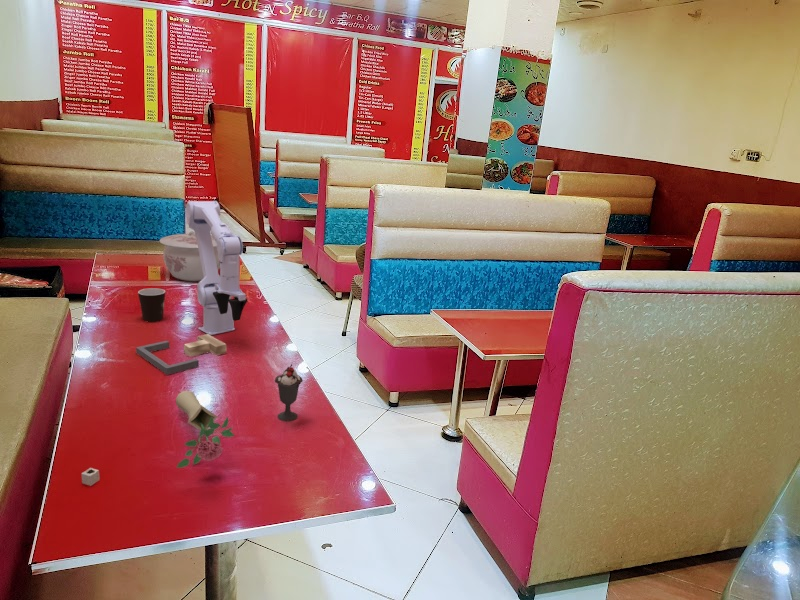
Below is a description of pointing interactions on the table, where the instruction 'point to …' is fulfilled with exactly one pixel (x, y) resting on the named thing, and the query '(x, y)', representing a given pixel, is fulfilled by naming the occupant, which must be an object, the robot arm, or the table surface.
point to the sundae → (288, 392)
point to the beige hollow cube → (90, 476)
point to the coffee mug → (152, 304)
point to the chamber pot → (185, 256)
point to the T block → (205, 346)
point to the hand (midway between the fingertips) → (230, 316)
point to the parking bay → (160, 364)
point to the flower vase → (201, 429)
